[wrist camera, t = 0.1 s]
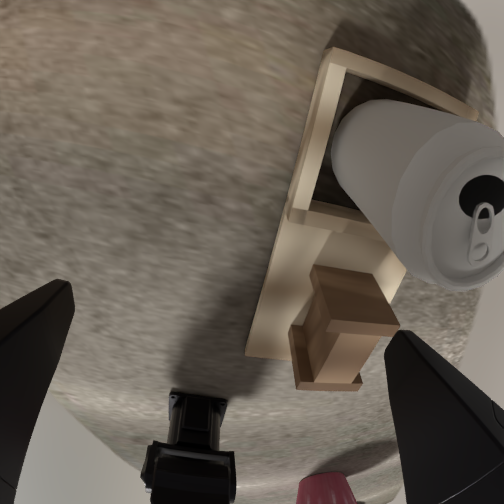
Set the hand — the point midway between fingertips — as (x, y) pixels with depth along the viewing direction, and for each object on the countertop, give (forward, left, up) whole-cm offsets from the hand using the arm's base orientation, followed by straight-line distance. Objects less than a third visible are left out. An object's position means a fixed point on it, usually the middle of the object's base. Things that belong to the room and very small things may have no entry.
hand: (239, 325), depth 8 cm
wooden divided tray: (-4, -9, -14) cm, 17 cm away
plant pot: (-54, -26, -15) cm, 62 cm away
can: (+3, -9, -15) cm, 17 cm away
